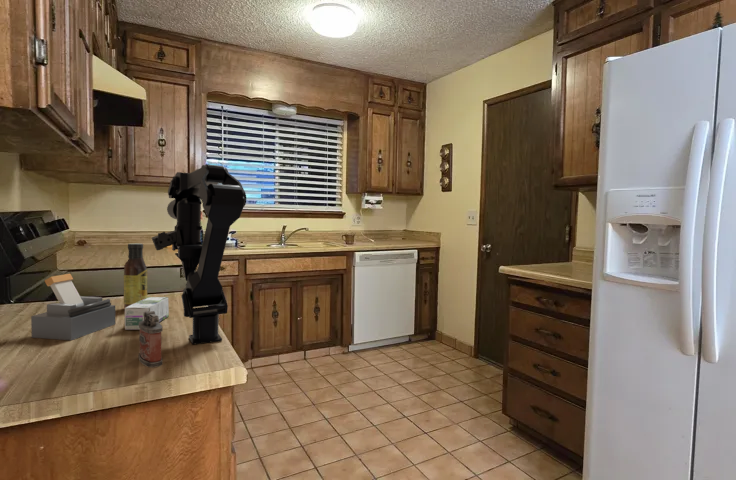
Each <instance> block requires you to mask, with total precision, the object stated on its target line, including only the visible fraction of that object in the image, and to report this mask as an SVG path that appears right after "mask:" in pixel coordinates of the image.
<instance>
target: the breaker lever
mask: <svg viewBox="0 0 736 480" xmlns="http://www.w3.org/2000/svg"><path fill="white" fill-rule="evenodd" d="M72 280H74V278H73V276H72V274H71V273H65V274H59V275H58V274H57V275H52V276H50V277H47V278H45V280H44V283H45V284H46V286H47V287H50V288H51V290H52V291H53V293H54V295H55V298H56V299H57V301H58V302H59V303H61V304H76V308H77V307H80V306H84V303H83V301H82V299H81V297H80V296H81V295H80V293H79V292H78V290H77V288H76V287H75V285H74V282H73V281H72Z"/></svg>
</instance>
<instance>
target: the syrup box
mask: <svg viewBox="0 0 736 480" xmlns="http://www.w3.org/2000/svg"><path fill="white" fill-rule="evenodd" d="M146 311H155V314H156V315H157V316H158V317H159V322H158V323H161V322H162V321H163V320H165V319H167V318H168V317H169V312H170V311H169V297H168V296H147V298H145V299H143V300H141V301H138V302H136V303H134V304H132V305H130V306H128V307H126V308H124V331H125V330H132V331H133V330H140V328H139V322H140V321H144V312H146Z"/></svg>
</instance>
